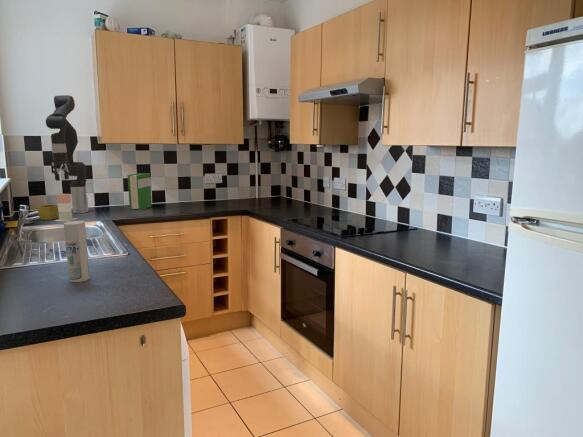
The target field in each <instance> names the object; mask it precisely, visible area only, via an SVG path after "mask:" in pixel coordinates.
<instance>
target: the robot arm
mask: <svg viewBox="0 0 583 437" xmlns="http://www.w3.org/2000/svg"><path fill="white" fill-rule="evenodd" d="M53 103H54V111H53V112H52V113H51V114H49V115H48V116H47V117H46V118H45V125H46V127H47V128H49V129H50V130H52V129H53V130H59V131H58V132H53V133H51V135H50V141H51V154H52V161H54V162H50V168H51V169H50V171H51V174H54V179H55V181H58V182H59V181H61V179H60V171H63V176H64V177H63V178H64V179H65V180H69V178H70V177H76V179H75V180H74V181H73V180H72V181H71V182H70V183H69V184H70V185H69V186H70V198H71V210H72V214H83V213H88V212H89V200H88V195H87V168H86V164H85V163H84V162H81V161H74V152H75V150H76V148H77V145H78V143H79V138H78V133H77V131H76V128H75V127H74V126H73V125H72V124H71V123H70V122H69V120H68V119H67V117H68V115H69V114H71V112H73V111H74V109H75V106H76V103H75V100H74V97H73V96H72V95H70V94H69V95H67V94H65V95H63V94H62V95H55V96H54V98H53Z"/></svg>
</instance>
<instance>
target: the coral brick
mask: <svg viewBox="0 0 583 437" xmlns="http://www.w3.org/2000/svg"><path fill="white" fill-rule="evenodd" d="M56 197H57V198H56V200H57V204H58V203H70V202H71V203H72V198H71V193H60V194H56Z"/></svg>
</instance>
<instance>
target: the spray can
mask: <svg viewBox="0 0 583 437" xmlns="http://www.w3.org/2000/svg"><path fill="white" fill-rule="evenodd" d="M86 230H87V229H86V221H84V220H71V221H64V223H63V231H64V232H63V233H64V240H65V249H66V250H65V251H66V259H67V261H66V262H67V272H68V280H69V282H71V283H82V282H86V281H88V280H89V279H90V270H89V269H90V268H89V255H88V245H87V233H86V232H87V231H86Z"/></svg>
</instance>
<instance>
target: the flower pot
mask: <svg viewBox="0 0 583 437" xmlns="http://www.w3.org/2000/svg"><path fill="white" fill-rule="evenodd" d="M36 210H37V213H38V212H39V214H38V216H39V215H40V217H39V219H41V221H54V220H58V218H59V213H58V204H44V205H39V206H36Z"/></svg>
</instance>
